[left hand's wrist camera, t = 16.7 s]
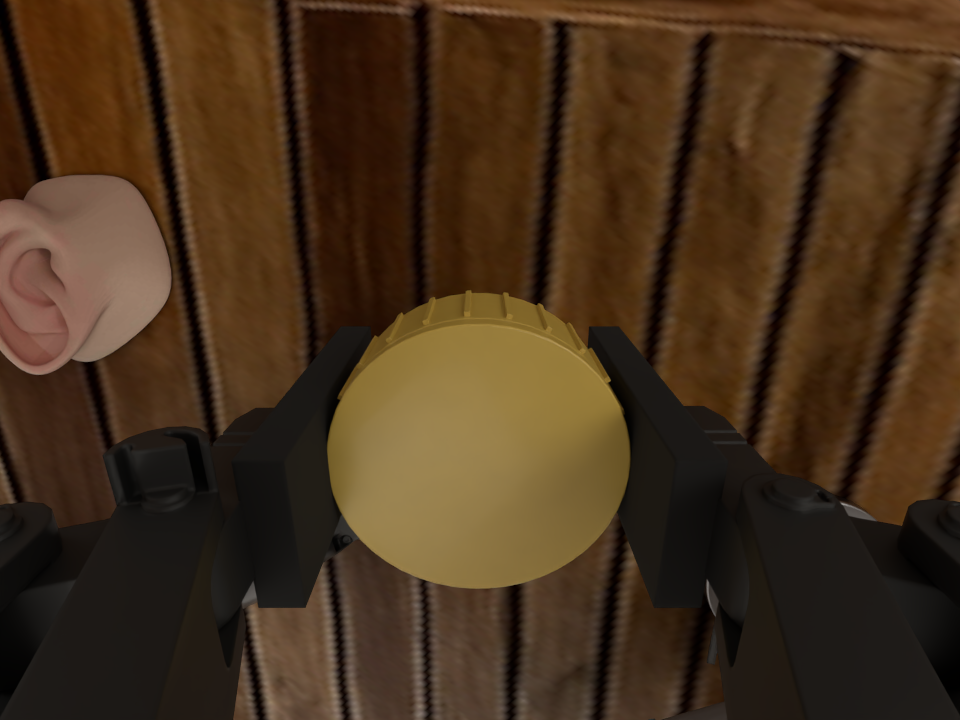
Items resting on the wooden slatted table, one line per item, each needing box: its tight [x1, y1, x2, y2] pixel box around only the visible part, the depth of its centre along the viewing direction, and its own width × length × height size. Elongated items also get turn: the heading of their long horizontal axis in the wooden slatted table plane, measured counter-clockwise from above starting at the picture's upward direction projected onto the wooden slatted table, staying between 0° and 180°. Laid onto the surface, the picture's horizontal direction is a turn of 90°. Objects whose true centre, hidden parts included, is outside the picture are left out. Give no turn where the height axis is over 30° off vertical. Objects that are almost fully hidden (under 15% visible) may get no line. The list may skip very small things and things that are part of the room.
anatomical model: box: [0, 175, 171, 375], centre depth 36 cm, size 13×4×12 cm
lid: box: [327, 290, 631, 588], centre depth 11 cm, size 6×6×2 cm
